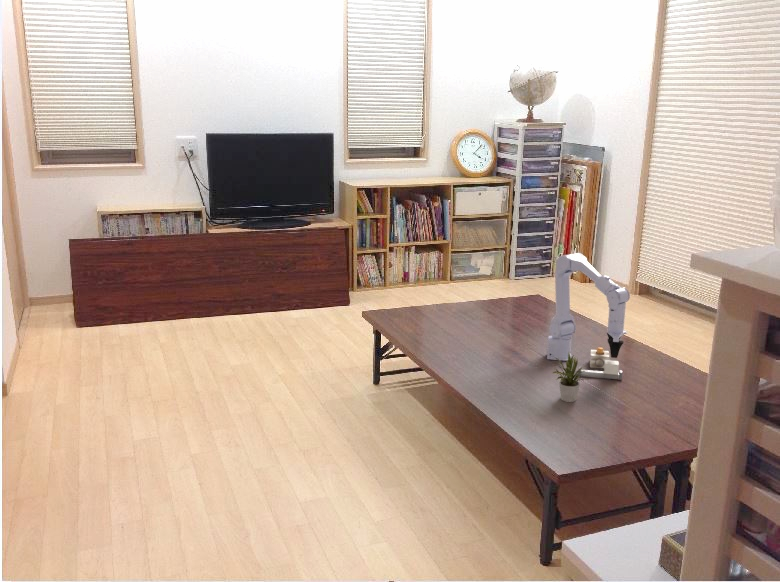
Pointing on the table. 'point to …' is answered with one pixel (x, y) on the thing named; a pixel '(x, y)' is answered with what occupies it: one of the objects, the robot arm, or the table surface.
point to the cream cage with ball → (598, 359)
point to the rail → (597, 374)
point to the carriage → (611, 369)
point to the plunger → (599, 350)
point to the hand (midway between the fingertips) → (613, 354)
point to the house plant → (569, 379)
